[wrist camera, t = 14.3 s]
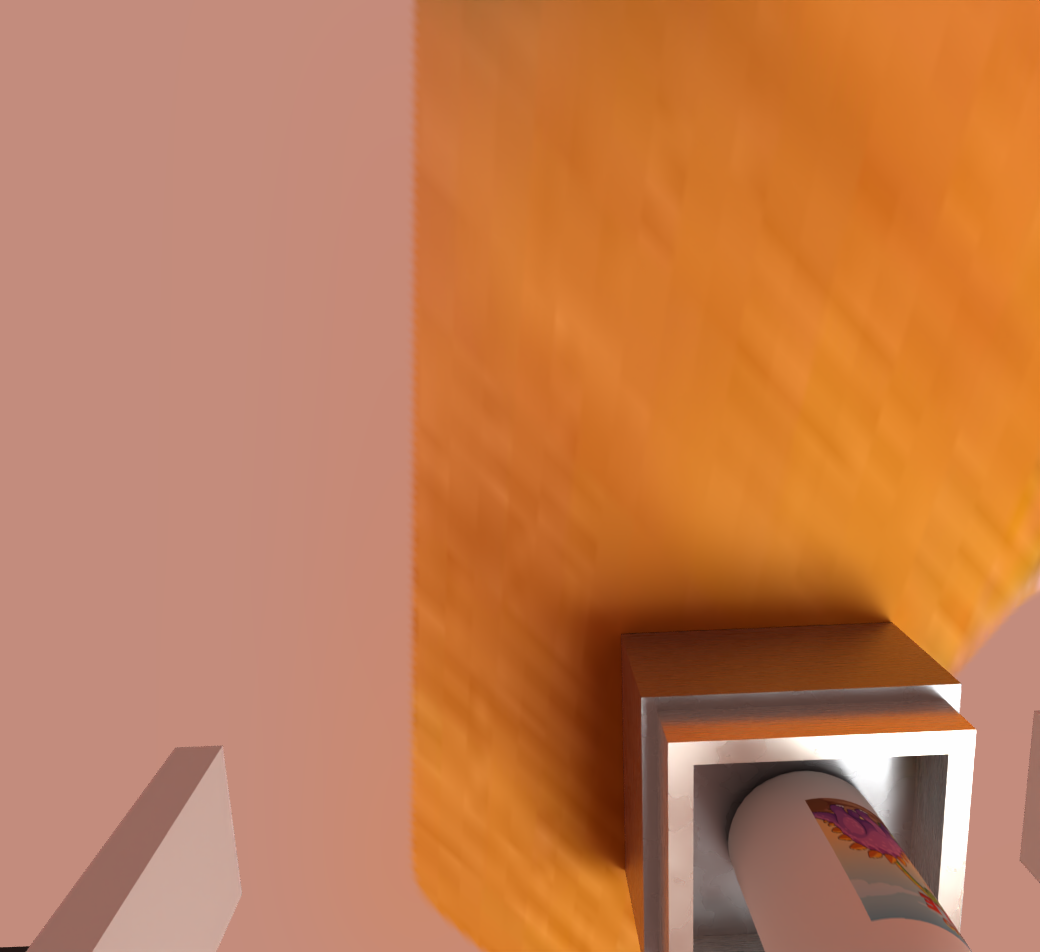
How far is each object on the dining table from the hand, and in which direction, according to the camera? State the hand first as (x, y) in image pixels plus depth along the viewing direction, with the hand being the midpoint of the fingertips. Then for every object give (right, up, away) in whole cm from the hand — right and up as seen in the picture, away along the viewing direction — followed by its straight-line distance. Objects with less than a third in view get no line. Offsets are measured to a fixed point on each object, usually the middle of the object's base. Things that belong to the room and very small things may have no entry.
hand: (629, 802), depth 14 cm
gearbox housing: (+13, -12, +38) cm, 42 cm away
